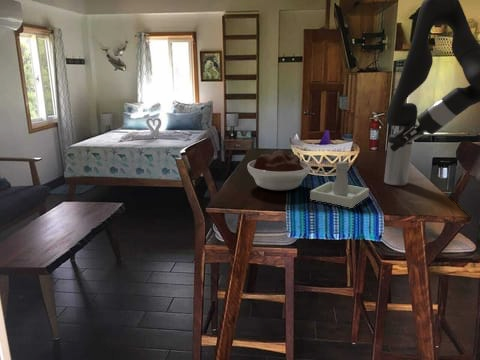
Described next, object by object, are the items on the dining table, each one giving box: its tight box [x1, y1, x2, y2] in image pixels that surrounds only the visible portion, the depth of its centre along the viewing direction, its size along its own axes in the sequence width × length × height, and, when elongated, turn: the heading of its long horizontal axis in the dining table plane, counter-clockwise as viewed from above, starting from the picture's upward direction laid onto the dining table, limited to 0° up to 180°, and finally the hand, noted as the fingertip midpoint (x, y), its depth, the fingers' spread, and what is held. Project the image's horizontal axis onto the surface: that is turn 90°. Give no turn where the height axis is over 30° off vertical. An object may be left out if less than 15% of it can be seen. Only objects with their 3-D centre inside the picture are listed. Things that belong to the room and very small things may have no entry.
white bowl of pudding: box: [246, 149, 311, 191], centre depth 162 cm, size 25×25×15 cm
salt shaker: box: [333, 160, 350, 197], centre depth 147 cm, size 6×6×13 cm
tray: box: [309, 181, 370, 209], centre depth 149 cm, size 16×16×4 cm
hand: (396, 147), depth 138 cm, fingers open, 8 cm apart
